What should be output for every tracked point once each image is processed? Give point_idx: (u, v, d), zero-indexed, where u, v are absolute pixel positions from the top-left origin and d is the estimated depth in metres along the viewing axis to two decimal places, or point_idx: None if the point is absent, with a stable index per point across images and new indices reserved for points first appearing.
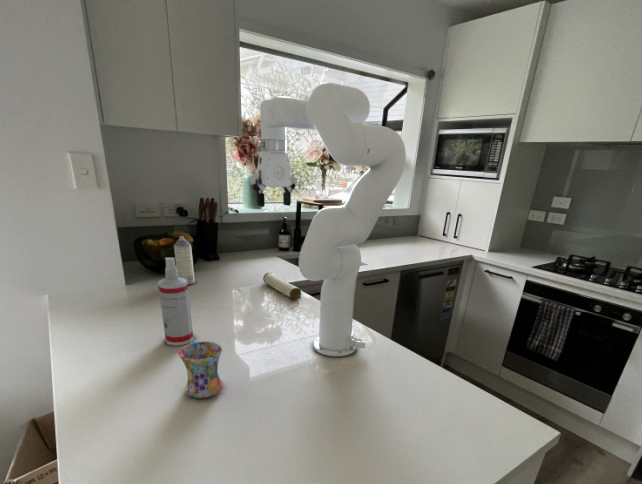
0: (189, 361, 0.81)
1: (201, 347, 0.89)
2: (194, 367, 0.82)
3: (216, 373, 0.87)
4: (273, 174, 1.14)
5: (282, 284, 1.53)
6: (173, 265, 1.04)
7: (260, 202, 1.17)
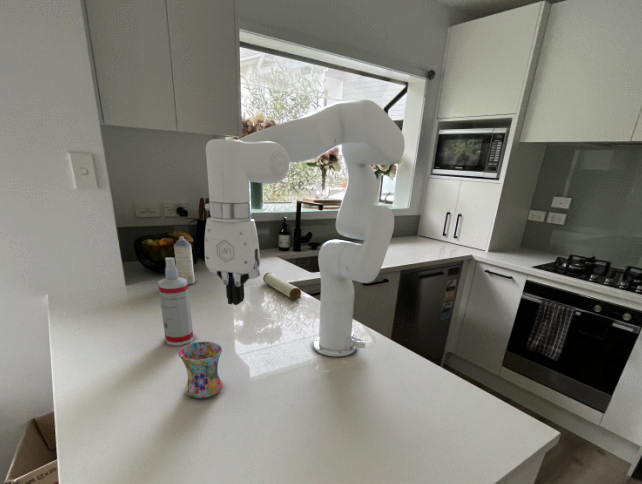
0: (189, 361, 0.81)
1: (201, 347, 0.89)
2: (194, 367, 0.82)
3: (216, 373, 0.87)
4: (216, 253, 0.72)
5: (282, 284, 1.53)
6: (173, 265, 1.04)
7: (228, 297, 0.78)
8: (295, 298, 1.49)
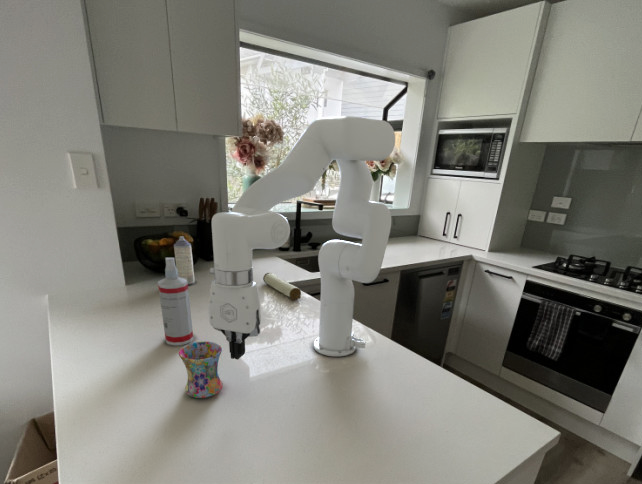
0: (189, 361, 0.81)
1: (201, 347, 0.89)
2: (194, 367, 0.82)
3: (216, 373, 0.87)
4: (220, 314, 0.77)
5: (282, 284, 1.53)
6: (173, 265, 1.04)
7: (231, 351, 0.82)
8: (295, 298, 1.49)
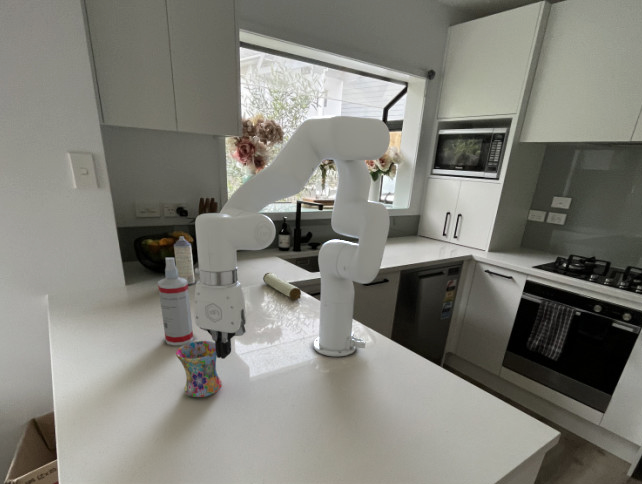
0: (186, 360, 0.81)
1: (199, 347, 0.88)
2: (191, 366, 0.82)
3: (214, 372, 0.86)
4: (205, 314, 0.78)
5: (282, 284, 1.53)
6: (173, 265, 1.04)
7: None
8: (295, 298, 1.49)
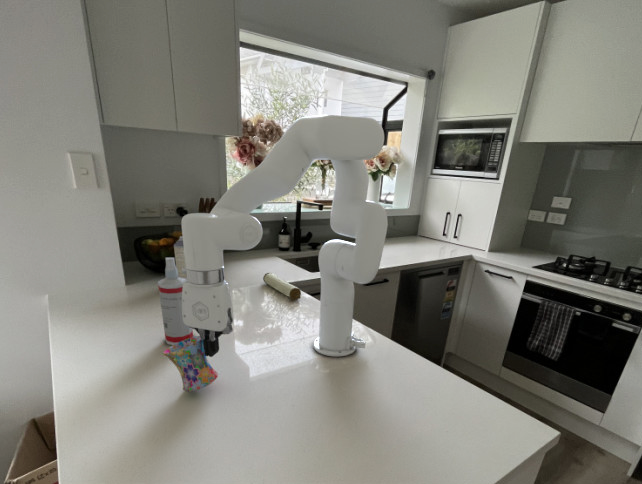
0: (171, 354, 0.82)
1: (187, 344, 0.89)
2: (179, 359, 0.82)
3: (205, 362, 0.86)
4: (193, 312, 0.79)
5: (282, 284, 1.53)
6: (173, 265, 1.04)
7: None
8: (295, 298, 1.49)
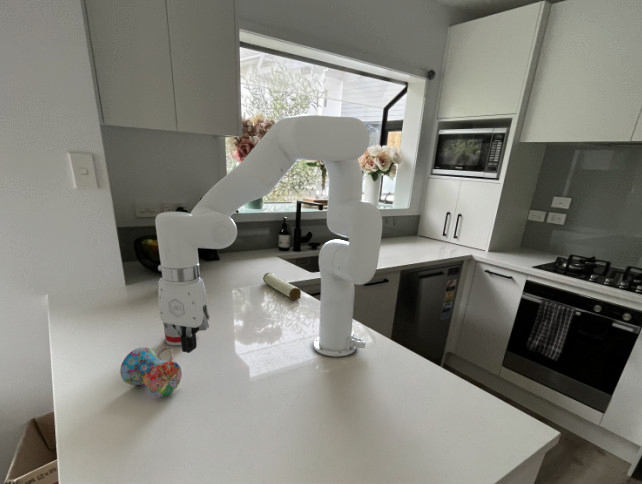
0: None
1: None
2: (138, 384, 0.88)
3: (142, 372, 0.84)
4: (169, 309, 0.81)
5: (282, 284, 1.53)
6: None
7: None
8: (295, 298, 1.49)
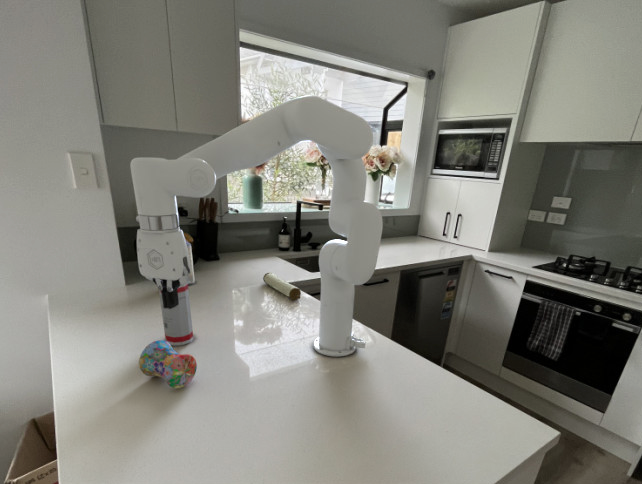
0: (140, 368, 0.89)
1: None
2: (147, 367, 0.89)
3: (169, 353, 0.89)
4: (148, 261, 0.78)
5: (282, 284, 1.53)
6: None
7: None
8: (295, 298, 1.49)
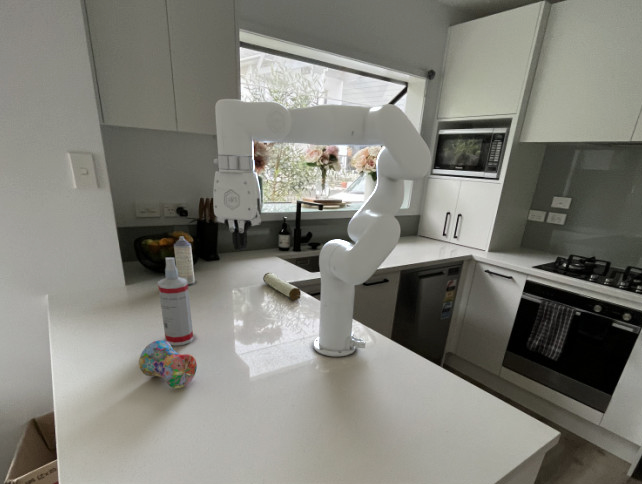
0: (140, 368, 0.89)
1: None
2: (147, 367, 0.89)
3: (169, 353, 0.89)
4: (224, 201, 0.83)
5: (282, 284, 1.53)
6: (173, 265, 1.04)
7: (234, 243, 0.88)
8: (295, 298, 1.49)
